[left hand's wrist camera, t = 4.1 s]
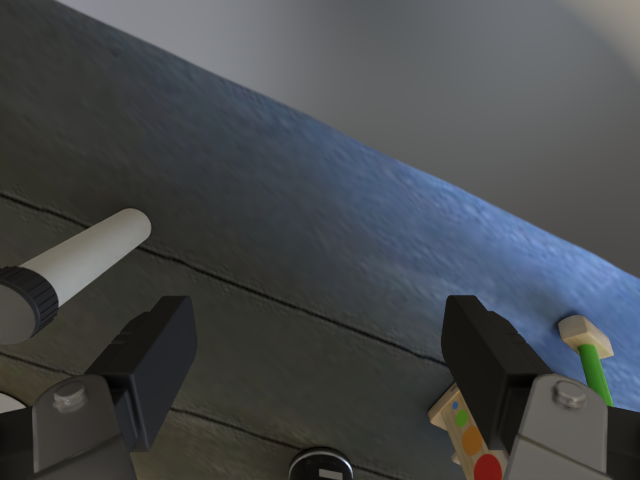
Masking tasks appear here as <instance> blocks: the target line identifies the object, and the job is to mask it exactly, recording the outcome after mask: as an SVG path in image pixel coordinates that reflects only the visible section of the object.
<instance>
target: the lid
mask: <svg viewBox="0 0 640 480" xmlns="http://www.w3.org/2000/svg"><path fill="white" fill-rule="evenodd" d="M58 307H59V300H58V296H57V293H56V291H55V289H54V288H53V286H52V285H51V284H50V282H49V281H48V280H47V279H46V278H44V277H43V276H42V275H40V274H39V273H37V272H35V271H33V270H30V269H27V268H25V267H16V266H14V267H8V266H6V267H4V268H3V269H1V268H0V344H1V345H15V344H19V343H22V342H24V341H26V340H27V339H29V338H31V337H33V336H34V335H35V334H37V333H38V332H39V331H40V330H42V329H43V328H44V327H45V326H46V325H48V324H49V323H50V322H51V321H53V320H54V319H53V318H54V317H55V316H56V315H57V311H58V309H59V308H58Z"/></svg>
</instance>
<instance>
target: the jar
mask: <svg viewBox="0 0 640 480" xmlns="http://www.w3.org/2000/svg"><path fill="white" fill-rule="evenodd" d="M150 233H151V223H150V221H149V219H148V217H147V216H146V215H145V214H144V213H142V212H141V211H139V210H136V209H131V208H129V209H124V210H122V211H120V212H118V213H116V214H114V215H113V216H111V217H109V218H107V219H105V220H103V221H101V222H100V223H98V224H96V225H94V226H92V227H90V228H89V229H87V230H85V231H83V232H81V233H79V234H77V235H76V236H74V237H72V238H70V239H68V240H66V241H64V242H63V243H61V244H59V245H57V246H55V247H53V248H52V249H50V250H48V251H46V252H44V253H42V254H40V255H39V256H37V257H35V258H33V259H31V260H29V261H27V262H26V263H24V264H22V265H20V266H18V267H25V268H27V269H30V270H33V271H35V272H37V273H39V274H40V275H42V276H43V277H44V278H46V279H47V280H48V281H49V282H50V284H51V285H52V286H53V288H54V289H55V291H56V293H57V296H58V300H59V307H60V306H61V305H62V304H64V303H65V302H66V301H68V300H69V299H70V298H71V297H73V296H74V295H75V294H77V293H78V292H79V291H80V290H82V289H83V288H84V287H86V286H87V285H88V284H89V283H91V282H92V281H93V280H94V279H96V278H97V277H98V276H100V275H101V274H102V273H103V272H105V271H106V270H107V269H109V268H110V267H111V266H112V265H114V264H115V263H116V262H118V261H119V260H120V259H121V258H123V257H124V256H125V255H126V254H128V253H129V252H130V251H132V250H133V249H134V248H135V247H137V246H138V245H139V244H141V243H142V242H143V241H144V240H146V239H147V238H148V237H149V235H150ZM59 307H58V308H59Z"/></svg>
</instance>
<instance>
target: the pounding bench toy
mask: <svg viewBox="0 0 640 480" xmlns="http://www.w3.org/2000/svg"><path fill="white" fill-rule="evenodd" d="M558 327H559V331H560V336H561V339H562V341H563V342H564V343H565V344H567V345H568V346H569V347H570V348H571V349H572V350H573V351H575V352H576V353H577V354H578V355H579V356H580V358H581V362H582V366H583V370H584V373H585V377H586V381H587V385H588V387H590V388H591V389H593V390H594V391H595V392H596V393H598V394H599V395H600V396H601V398H602V399H603V400H604V402H605V403H606V405H607V406H612V407H614V405H613V402H612V399H611V395H610V392H609V389H608V385H607V382H606V379H605V375H604V372H603V369H602V365H601V362H600V359H602V358H606V357H610V356H613V355H614V353H613V350H612V347H611V344H610V341H609V339H608V337H607V336H605V335H604V334H603V333H602V332H601V331H600V330H599V329H598V328H597V327H595V326H594V325H593V324H592V323H591V322H590V321H589V320H588V319H586V318H585V317H584V316H582V315H573V316H570V317H567V318H565V319H563V320H562V321H560V322H559V323H558ZM553 373H554V372H553ZM554 374H556V373H554ZM556 375H558V374H556ZM428 416H429V419H430V421H431V423H432V424H434V425H436V426H438V427H440V428H442V429H444V430H446V431H448V433H449V436H450V438H451V441H452V443H453V446H454V448H455V451H456V452H455V453H454V454H453V456H452V457H451V459H452V461H453V462H455V463H457V464H459V465H461V466H462V469H463V471H464V474H465V476H466V479H467V480H503V477H504V474H505V470H506V467H507V464H508V461H509V457H510V456H509V454H508V452H507V450H488V448H487V446H486V444H485V442H484V440H483V438H482V435H481V433H480V431H479V429H478V427H477V425H476V423H475V421H474V419H473V417H472V415H471V413H470V411H469V409H468V407H467V405H466V403H465V401H464V398H463V396H462V394H461V392H460V390H459V388H458V386H457V384H456V382H455V383H454V384H453V385H452V386H451V387H450V388H449V389H448V390H447V391H446V393H445V394H444V395H443V396H442V397H441V398H440V399H439V400H438V401H437V403H436V404H435V405H434V406H433V407H432V408H431V409H430V410H429V412H428Z"/></svg>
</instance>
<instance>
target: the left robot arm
mask: <svg viewBox="0 0 640 480" xmlns="http://www.w3.org/2000/svg"><path fill="white" fill-rule="evenodd" d="M441 348H442V354H443V357H444V359H445V361H446V364H447V366H448V368H449V370H450V372H451V374H452V376H453V378H454V380H455V382H456V384H457V386H458V388H459V390H460V392H461V394H462V396H463V398H464V401H465V403H466V405H467V407H468V409H469V411H470V413H471V415H472V417H473V419H474V421H475V423H476V425H477V427H478V429H479V431H480V433H481V435H482V438H483V440H484V442H485V444H486V446H487V448H488V450H507V452H508V454H509V456H510V457H509V461H508V464H507V467H506V470H505V474H504V477H503V480H640V413H639V412H634V411H630V410H625V409H621V408H616V407H612V406H607V405H606V403H605V402H604V400H603V399H602V398H601V396H600V395H599V394H598V393H596V392H595V391H594V390H593V389H591V388H590V387H588V386H587V385H585V384H583V383H581V382H579V381H577V380H575V379H572V378H569V377H566V376H562V375H556V374H554V373H553V372H552V371H551V370H550V368H549V367H548V366H547V365H546V364H545V363H544V362H543V360H542V359H541V358H540V357H539V356H538V355H537V353H536V352H535V351H534V350H533V349H532V348H531V347H530V345H529V344H528V343H526V341H525V340H524V338H523V337H522V336H521V335H520V334H518V332H517V330H516V329H515V328H514V327H513V326H512V325H511V323H510V322H509V321H508V320H506V319H505V318H503V317H501V316H500V315H498V314H497V313H495V312H494V311H487V310H486V308H485V307H484V306H483V305H482V303H481V302H480V301H479V300H478V298H477V297H476V296H474V295H450V296H448V298H447V301H446V306H445V314H444V321H443V328H442V335H441ZM196 350H197V335H196V328H195V321H194V314H193V306H192V301H191V298H190V297H189V296H163V297H162V298H161V299H160V300H159V301H158V303H157V304H156V305H155V306H154V307H153V309H152V310H151V311H150V312H144V313H142V314H141V315H139V316H137V317H136V318H134V319H133V320H131V321H129V323H128V324H127V325H126V326H125V327H124V328H123V329H122V331H121V332H120V335H117V336H116V337H115V339H114V340H113V341H112V344H109V345H108V347H107V348H106V349H105V350H104V351H103V352H102V353H101V355H100V356H99V357H98V358H97V359H96V360H95V361H94V363H93V364H92V365H91V366H90V367H89V368H88V370H87V371H86V372H85V373H84V374H83V375H78V376H74V377H71V378H68V379H65V380H63V381H61V382H59V383H57V384H55V385H53V386H52V387H50V388H49V389H47V390H46V391H45V392H44V393H42V394H41V395H40V396H39V398H38V399H37V400H36V402H35V403H34V405H33V406H30V407H26V408H22V409H17V410H13V411H8V412H4V413H0V480H137V477H136V474H135V470H134V467H133V464H132V461H131V457H130V452H149V450H150V448H151V446H152V444H153V442H154V440H155V438H156V436H157V433H158V431H159V429H160V427H161V425H162V423H163V421H164V419H165V417H166V415H167V413H168V411H169V409H170V407H171V405H172V403H173V401H174V399H175V397H176V395H177V393H178V391H179V389H180V387H181V385H182V383H183V381H184V379H185V377H186V375H187V373H188V371H189V369H190V366H191V364H192V362H193V360H194V358H195V355H196ZM289 480H353V471H352V465H351V463H350V461H349V460H348V458H347V457H346V456H345V455H343V454H342V453H340V452H338V451H336V450H333V449H328V448H313V449H309V450H306V451H304V452H302V453H300V454H299V455H297V456H296V457H295V458H294V459H293V461H292V462H291V465H290V469H289Z"/></svg>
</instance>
